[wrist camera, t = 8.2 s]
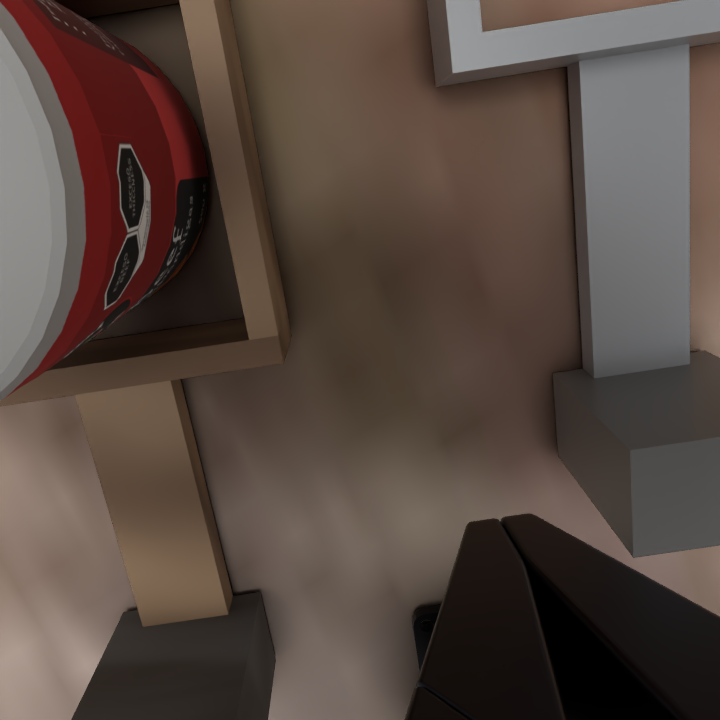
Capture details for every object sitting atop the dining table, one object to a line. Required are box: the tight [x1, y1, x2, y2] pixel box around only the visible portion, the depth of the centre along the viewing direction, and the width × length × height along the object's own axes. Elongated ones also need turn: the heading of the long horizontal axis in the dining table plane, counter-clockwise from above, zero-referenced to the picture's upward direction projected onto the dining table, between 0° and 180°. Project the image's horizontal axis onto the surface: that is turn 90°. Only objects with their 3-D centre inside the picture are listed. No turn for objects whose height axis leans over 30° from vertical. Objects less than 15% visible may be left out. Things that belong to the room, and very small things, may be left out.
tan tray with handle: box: [0, 0, 292, 720], centre depth 18 cm, size 23×11×6 cm, turn 8°
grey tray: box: [427, 0, 720, 558], centre depth 16 cm, size 23×11×6 cm, turn 8°
